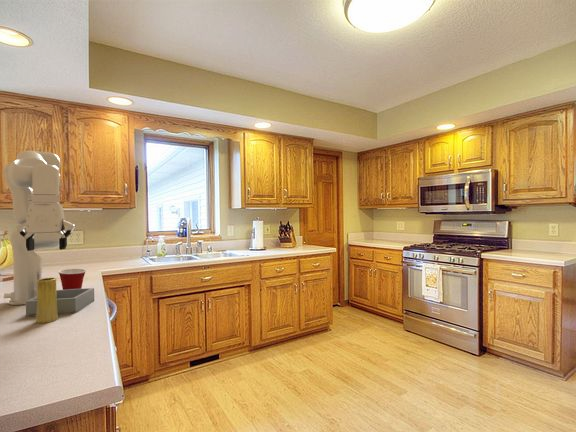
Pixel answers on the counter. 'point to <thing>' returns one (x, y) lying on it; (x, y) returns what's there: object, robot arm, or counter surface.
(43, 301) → the vase
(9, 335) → the counter surface
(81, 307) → the box
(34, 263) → the robot arm
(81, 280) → the plastic cup
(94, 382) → the counter surface
